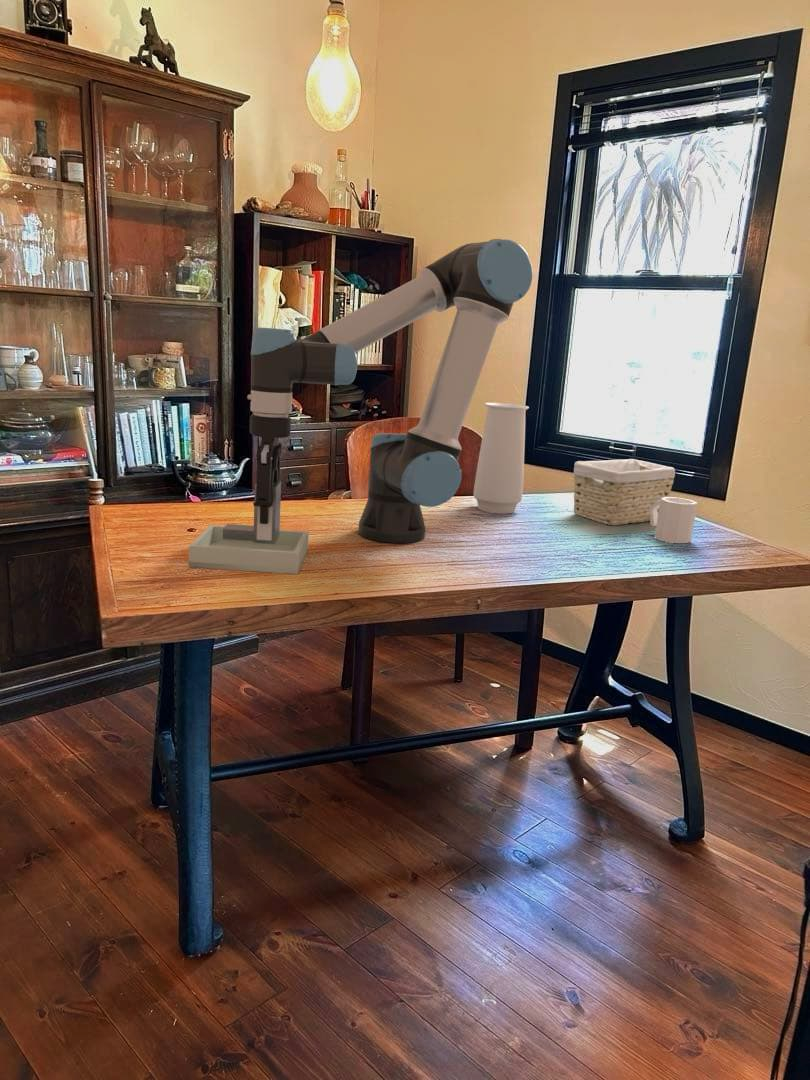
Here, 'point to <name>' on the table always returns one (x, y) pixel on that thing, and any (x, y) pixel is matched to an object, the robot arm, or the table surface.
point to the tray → (249, 552)
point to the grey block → (251, 531)
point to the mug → (673, 519)
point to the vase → (501, 459)
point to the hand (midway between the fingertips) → (267, 534)
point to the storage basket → (619, 489)
